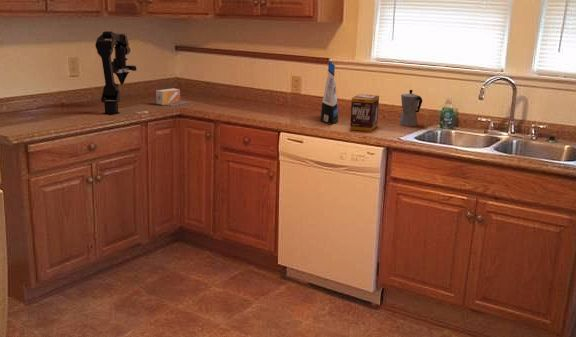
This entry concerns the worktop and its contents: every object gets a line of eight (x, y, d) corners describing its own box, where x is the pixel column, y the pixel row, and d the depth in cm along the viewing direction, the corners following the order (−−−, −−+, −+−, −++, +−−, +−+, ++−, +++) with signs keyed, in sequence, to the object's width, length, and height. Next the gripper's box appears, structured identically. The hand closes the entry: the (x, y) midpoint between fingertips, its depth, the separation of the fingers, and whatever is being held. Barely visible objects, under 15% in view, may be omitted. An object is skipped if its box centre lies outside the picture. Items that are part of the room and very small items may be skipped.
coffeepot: (393, 123, 311) (395, 88, 306) (407, 121, 315) (409, 87, 310) (412, 128, 298) (415, 92, 293) (426, 127, 302) (429, 91, 297)
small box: (162, 91, 347) (180, 89, 356) (155, 90, 351) (173, 88, 361) (162, 105, 349) (180, 102, 359) (156, 103, 354) (174, 101, 363)
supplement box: (349, 129, 293) (351, 97, 289) (357, 124, 307) (359, 93, 303) (370, 131, 289) (372, 99, 285) (377, 125, 303) (379, 95, 299)
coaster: (141, 114, 321) (141, 113, 321) (131, 113, 325) (131, 112, 324) (150, 112, 327) (150, 111, 327) (141, 111, 330) (141, 110, 330)
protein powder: (323, 124, 303) (325, 65, 295) (317, 116, 327) (319, 60, 319) (341, 124, 304) (344, 65, 296) (335, 116, 327) (337, 60, 319)
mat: (171, 106, 349) (171, 105, 349) (148, 103, 358) (148, 102, 357) (189, 102, 362) (189, 102, 362) (166, 99, 371) (166, 99, 371)
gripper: (122, 54, 346) (123, 81, 350) (97, 56, 331) (99, 85, 335) (136, 55, 341) (137, 83, 345) (111, 57, 325) (113, 86, 329)
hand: (121, 84), depth 339 cm, fingers closed
